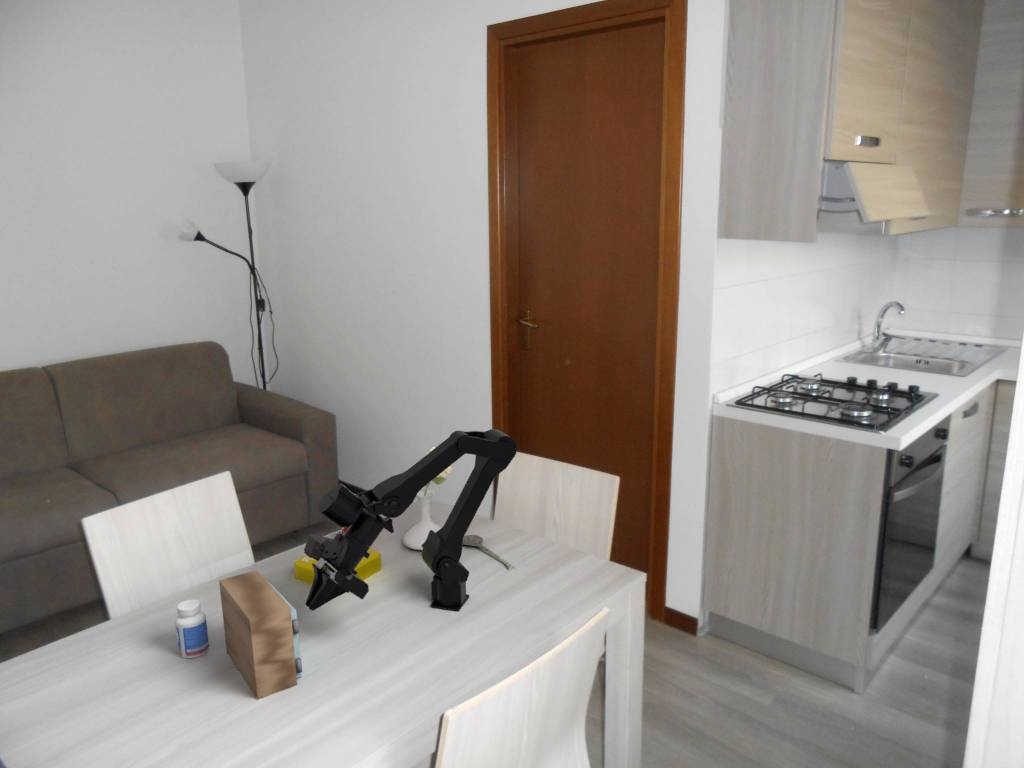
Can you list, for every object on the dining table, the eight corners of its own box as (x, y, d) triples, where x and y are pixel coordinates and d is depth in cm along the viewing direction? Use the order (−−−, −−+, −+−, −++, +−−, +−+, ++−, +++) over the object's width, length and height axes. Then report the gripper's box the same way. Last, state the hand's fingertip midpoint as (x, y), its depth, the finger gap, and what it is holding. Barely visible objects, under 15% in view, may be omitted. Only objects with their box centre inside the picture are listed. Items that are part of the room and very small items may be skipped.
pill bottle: (215, 646, 152) (210, 600, 150) (196, 661, 147) (190, 613, 145) (192, 641, 154) (187, 595, 152) (172, 656, 149) (166, 609, 147)
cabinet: (263, 640, 154) (256, 569, 150) (297, 685, 139) (290, 607, 136) (226, 652, 150) (219, 580, 146) (257, 699, 135) (250, 620, 132)
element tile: (385, 569, 184) (384, 550, 183) (339, 596, 172) (338, 575, 171) (338, 555, 192) (337, 536, 191) (291, 579, 180) (289, 560, 179)
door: (310, 676, 141) (305, 610, 138) (297, 681, 140) (292, 614, 137) (279, 640, 153) (274, 579, 150) (267, 644, 152) (261, 582, 149)
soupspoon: (473, 539, 201) (450, 547, 198) (471, 527, 201) (449, 534, 197) (523, 567, 184) (500, 576, 180) (522, 554, 183) (499, 563, 179)
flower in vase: (412, 558, 189) (408, 458, 183) (396, 541, 198) (392, 445, 193) (462, 547, 194) (459, 450, 189) (444, 530, 204) (441, 438, 199)
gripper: (310, 505, 158) (260, 571, 154) (348, 535, 143) (295, 609, 140) (349, 531, 164) (302, 595, 161) (390, 563, 149) (340, 635, 146)
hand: (308, 607), depth 151 cm, fingers closed
